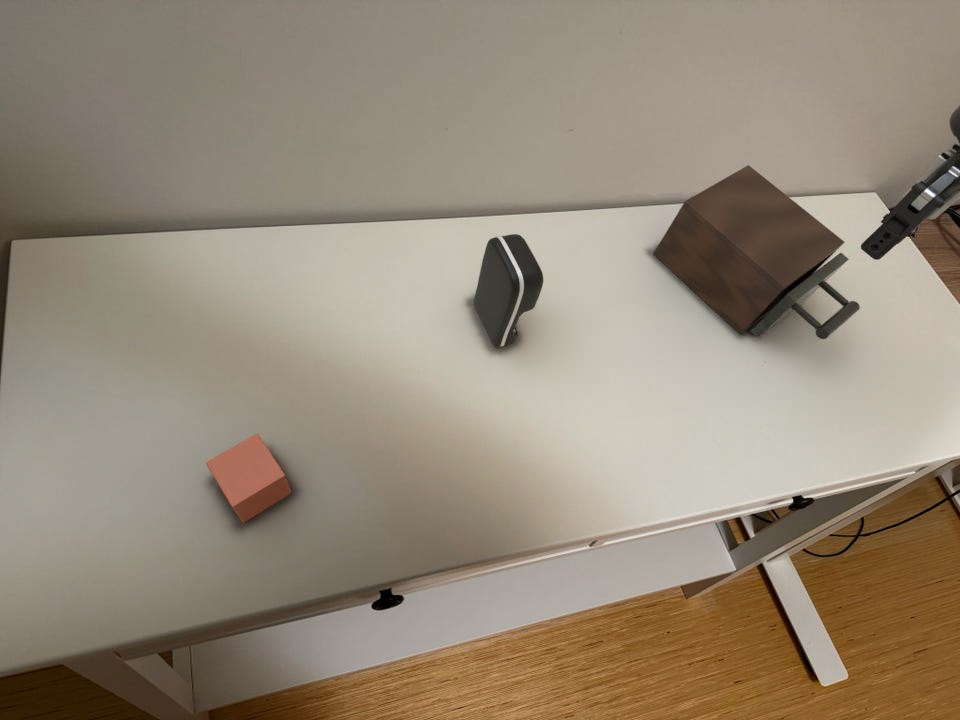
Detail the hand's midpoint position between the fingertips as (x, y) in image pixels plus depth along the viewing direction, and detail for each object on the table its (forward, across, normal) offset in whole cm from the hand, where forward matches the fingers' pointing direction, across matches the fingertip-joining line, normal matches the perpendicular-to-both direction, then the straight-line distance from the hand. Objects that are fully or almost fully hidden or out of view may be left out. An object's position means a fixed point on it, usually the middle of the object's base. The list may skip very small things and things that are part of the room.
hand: (879, 244), depth 59 cm
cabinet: (+15, 0, +10) cm, 18 cm away
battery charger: (+15, -30, +20) cm, 39 cm away
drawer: (+14, 0, +6) cm, 15 cm away
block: (+15, -60, +18) cm, 65 cm away
